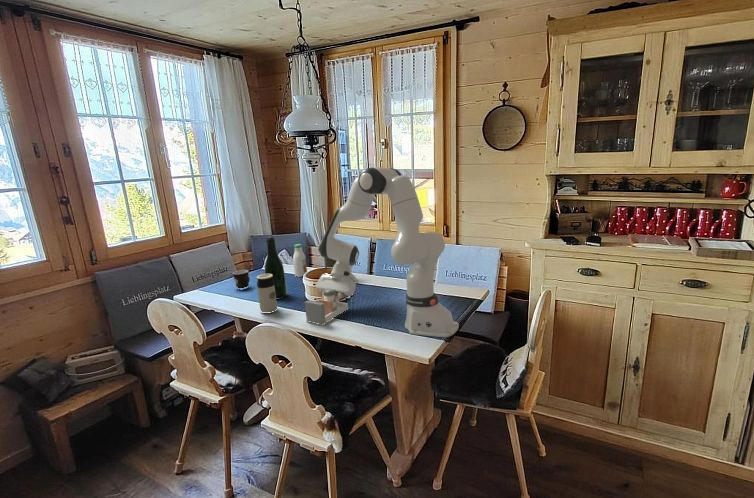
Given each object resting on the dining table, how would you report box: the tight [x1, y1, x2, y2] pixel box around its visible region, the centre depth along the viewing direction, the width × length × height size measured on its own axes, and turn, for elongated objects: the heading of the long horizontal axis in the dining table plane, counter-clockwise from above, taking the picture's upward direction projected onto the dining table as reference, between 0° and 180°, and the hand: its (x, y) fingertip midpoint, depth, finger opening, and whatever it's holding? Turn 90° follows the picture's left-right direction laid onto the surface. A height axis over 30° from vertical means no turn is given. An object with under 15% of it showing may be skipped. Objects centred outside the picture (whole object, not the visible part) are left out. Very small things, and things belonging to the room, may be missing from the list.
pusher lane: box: [304, 300, 350, 325], centre depth 186 cm, size 9×20×10 cm, turn 149°
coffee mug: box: [232, 269, 251, 288], centre depth 233 cm, size 12×9×10 cm
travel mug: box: [256, 273, 278, 312], centre depth 195 cm, size 8×8×18 cm
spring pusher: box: [318, 298, 333, 315], centre depth 186 cm, size 7×1×7 cm, turn 59°
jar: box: [322, 289, 337, 311], centre depth 188 cm, size 6×6×11 cm
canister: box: [323, 257, 337, 269], centre depth 235 cm, size 11×10×20 cm
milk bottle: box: [292, 243, 308, 278], centre depth 251 cm, size 8×8×20 cm
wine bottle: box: [264, 235, 288, 298], centre depth 213 cm, size 10×10×33 cm
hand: (329, 301), depth 187 cm, fingers closed on jar, 5 cm apart
